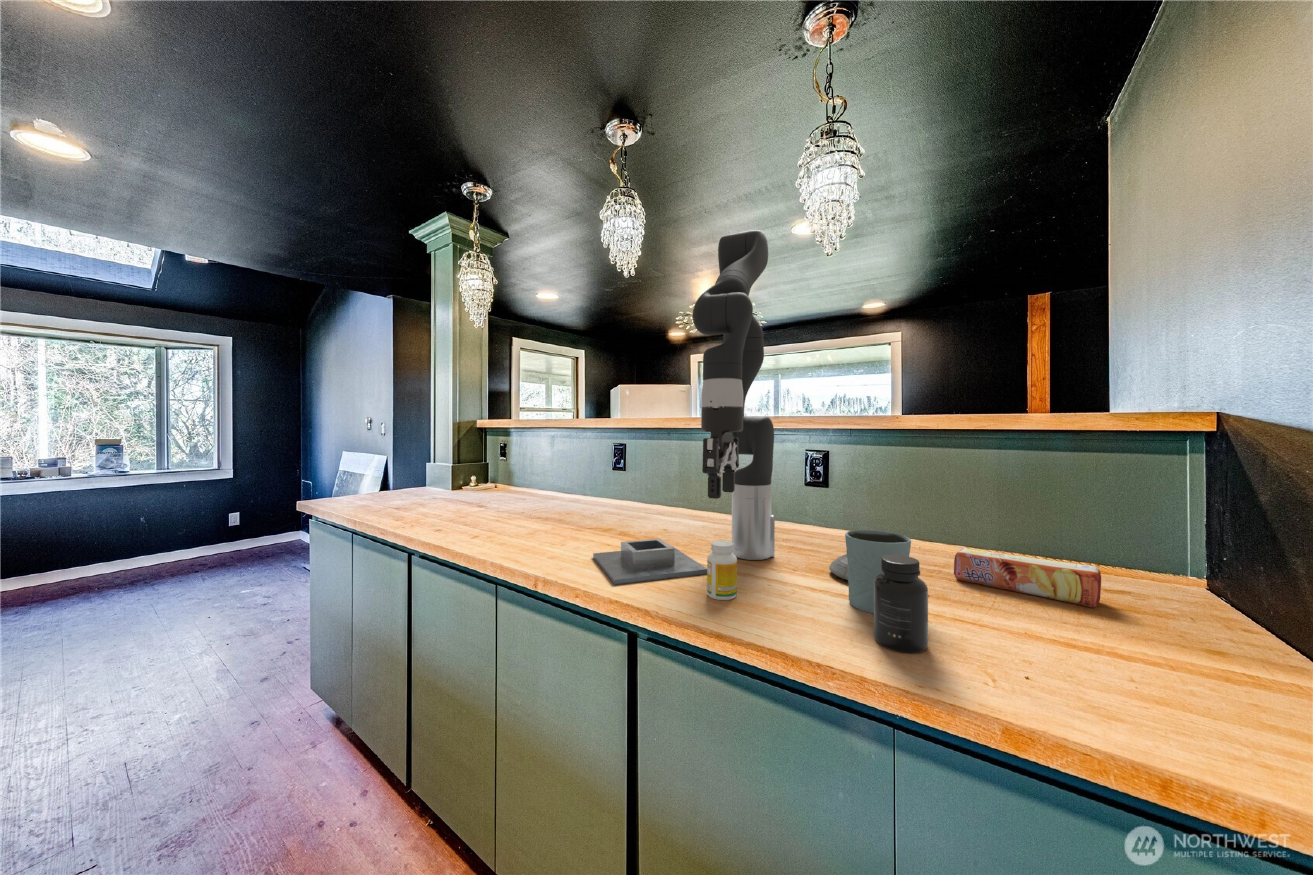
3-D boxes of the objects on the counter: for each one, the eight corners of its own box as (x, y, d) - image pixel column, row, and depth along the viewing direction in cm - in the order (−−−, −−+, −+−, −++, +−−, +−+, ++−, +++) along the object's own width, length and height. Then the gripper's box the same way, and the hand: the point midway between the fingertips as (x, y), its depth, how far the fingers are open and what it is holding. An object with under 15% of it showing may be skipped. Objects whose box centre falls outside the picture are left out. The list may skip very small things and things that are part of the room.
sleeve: (672, 549, 114) (672, 531, 114) (707, 573, 96) (707, 552, 95) (593, 557, 108) (593, 538, 107) (614, 585, 89) (614, 562, 89)
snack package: (951, 581, 91) (952, 548, 91) (961, 574, 96) (961, 542, 96) (1099, 613, 76) (1100, 572, 75) (1102, 602, 80) (1103, 564, 80)
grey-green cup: (833, 603, 79) (834, 534, 79) (861, 590, 86) (862, 526, 86) (894, 622, 72) (895, 546, 71) (920, 606, 78) (920, 536, 78)
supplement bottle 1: (701, 595, 83) (701, 543, 83) (718, 588, 87) (718, 538, 87) (725, 603, 79) (726, 548, 79) (742, 595, 83) (742, 542, 83)
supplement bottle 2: (880, 628, 70) (880, 549, 69) (931, 641, 65) (932, 557, 65) (867, 644, 64) (868, 559, 64) (922, 660, 60) (923, 569, 60)
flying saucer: (903, 597, 83) (903, 567, 83) (819, 581, 92) (819, 553, 92) (915, 576, 95) (915, 549, 95) (840, 563, 104) (840, 539, 104)
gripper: (714, 407, 91) (714, 489, 91) (688, 403, 78) (688, 499, 78) (752, 407, 87) (751, 491, 88) (731, 402, 75) (730, 502, 75)
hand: (721, 495), depth 83 cm, fingers open, 8 cm apart
